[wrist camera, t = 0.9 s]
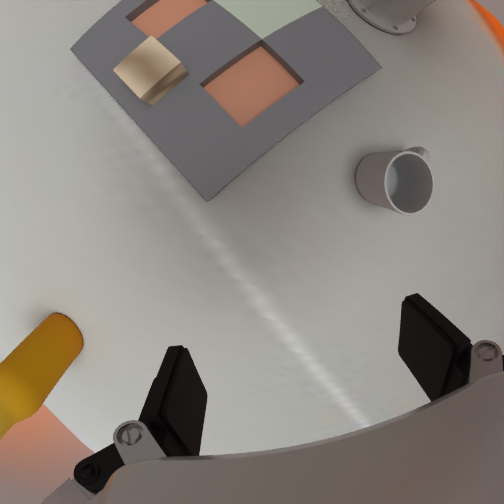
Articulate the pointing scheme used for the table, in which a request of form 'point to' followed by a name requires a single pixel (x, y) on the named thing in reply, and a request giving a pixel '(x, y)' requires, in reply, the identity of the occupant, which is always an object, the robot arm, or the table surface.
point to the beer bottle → (36, 368)
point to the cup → (397, 180)
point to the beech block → (151, 71)
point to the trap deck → (227, 76)
